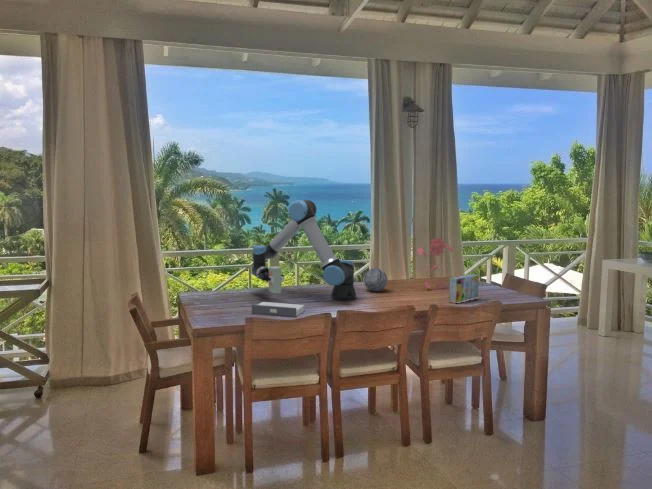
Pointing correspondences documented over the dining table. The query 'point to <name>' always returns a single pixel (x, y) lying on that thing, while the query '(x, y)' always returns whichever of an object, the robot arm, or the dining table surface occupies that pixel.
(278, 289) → the carton
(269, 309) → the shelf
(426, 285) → the figurine
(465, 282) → the snack box
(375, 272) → the decorative orb
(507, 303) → the dining table surface
